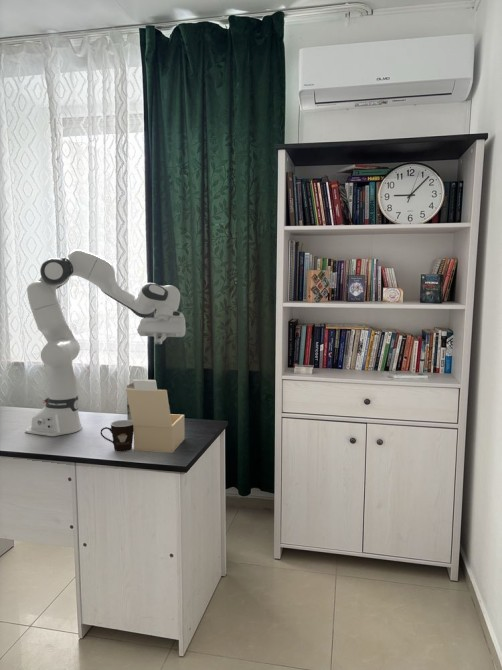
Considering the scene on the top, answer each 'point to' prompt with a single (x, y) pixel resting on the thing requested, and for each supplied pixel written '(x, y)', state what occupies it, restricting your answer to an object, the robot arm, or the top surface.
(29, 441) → the top surface
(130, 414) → the coffee box
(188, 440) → the top surface
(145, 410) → the flap
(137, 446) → the carton
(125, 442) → the coffee mug
